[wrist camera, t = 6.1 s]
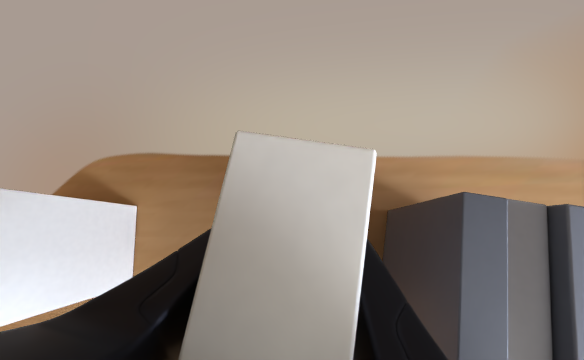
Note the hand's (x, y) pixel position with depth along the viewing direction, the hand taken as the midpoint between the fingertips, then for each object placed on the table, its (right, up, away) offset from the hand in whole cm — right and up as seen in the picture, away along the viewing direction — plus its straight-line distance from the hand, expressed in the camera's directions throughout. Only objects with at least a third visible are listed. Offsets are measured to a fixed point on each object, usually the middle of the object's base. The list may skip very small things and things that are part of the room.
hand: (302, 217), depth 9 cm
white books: (-17, -5, +12) cm, 21 cm away
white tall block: (0, -3, +6) cm, 7 cm away
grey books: (+10, -5, +9) cm, 14 cm away
